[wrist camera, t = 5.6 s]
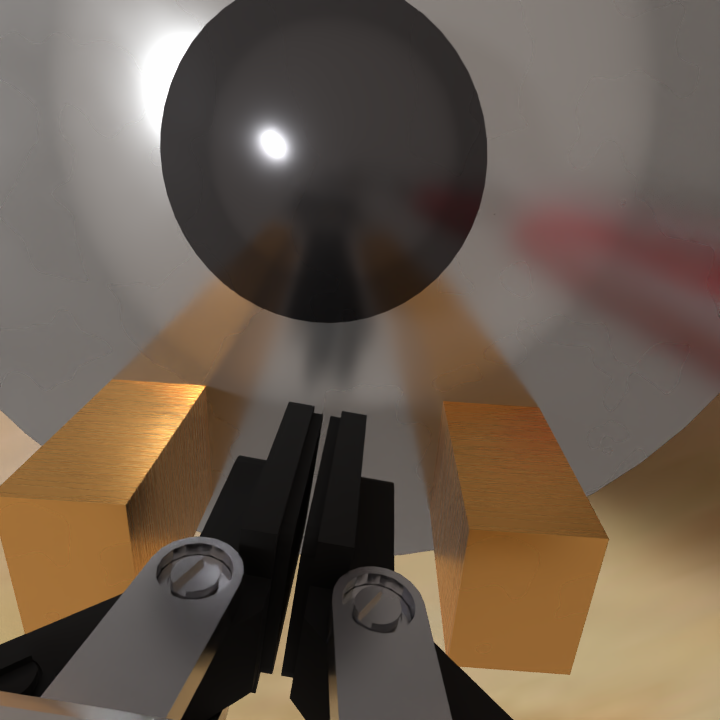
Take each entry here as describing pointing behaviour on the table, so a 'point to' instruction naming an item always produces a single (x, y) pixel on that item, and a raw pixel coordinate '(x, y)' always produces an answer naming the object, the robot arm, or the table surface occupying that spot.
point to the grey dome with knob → (355, 277)
